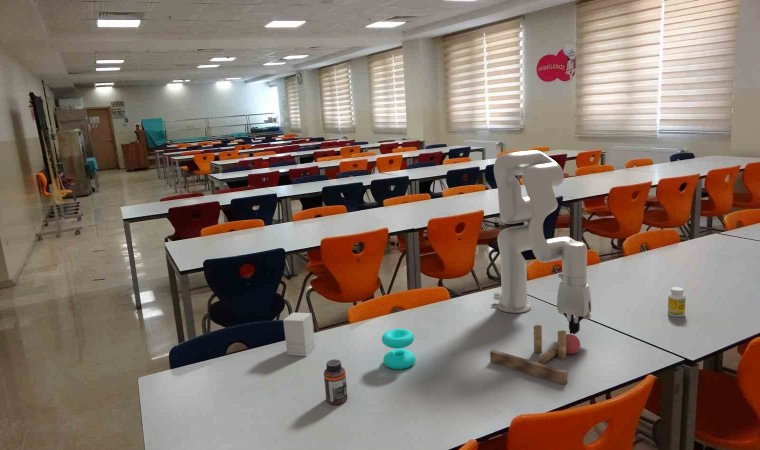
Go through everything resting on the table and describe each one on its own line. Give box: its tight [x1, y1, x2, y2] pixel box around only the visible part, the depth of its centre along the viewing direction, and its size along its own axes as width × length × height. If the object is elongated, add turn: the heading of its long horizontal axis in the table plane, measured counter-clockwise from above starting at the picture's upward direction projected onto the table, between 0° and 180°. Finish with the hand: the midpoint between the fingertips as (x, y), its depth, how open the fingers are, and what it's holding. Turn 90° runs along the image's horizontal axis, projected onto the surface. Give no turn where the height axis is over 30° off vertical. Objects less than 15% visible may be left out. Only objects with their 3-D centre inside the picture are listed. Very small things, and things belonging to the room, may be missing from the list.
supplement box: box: [282, 312, 316, 357], centre depth 183 cm, size 7×7×13 cm
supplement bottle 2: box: [667, 286, 686, 318], centre depth 193 cm, size 5×5×10 cm
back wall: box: [489, 349, 568, 385], centre depth 160 cm, size 24×2×4 cm, turn 46°
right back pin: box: [557, 330, 567, 361], centre depth 166 cm, size 2×2×8 cm
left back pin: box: [533, 324, 543, 354], centre depth 172 cm, size 2×2×8 cm
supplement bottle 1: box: [323, 358, 348, 406], centre depth 150 cm, size 6×6×11 cm
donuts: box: [381, 328, 416, 370], centre depth 170 cm, size 10×10×10 cm
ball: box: [566, 333, 581, 355], centre depth 169 cm, size 6×6×6 cm
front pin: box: [537, 346, 558, 365], centre depth 167 cm, size 2×2×8 cm
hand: (574, 332), depth 181 cm, fingers closed
